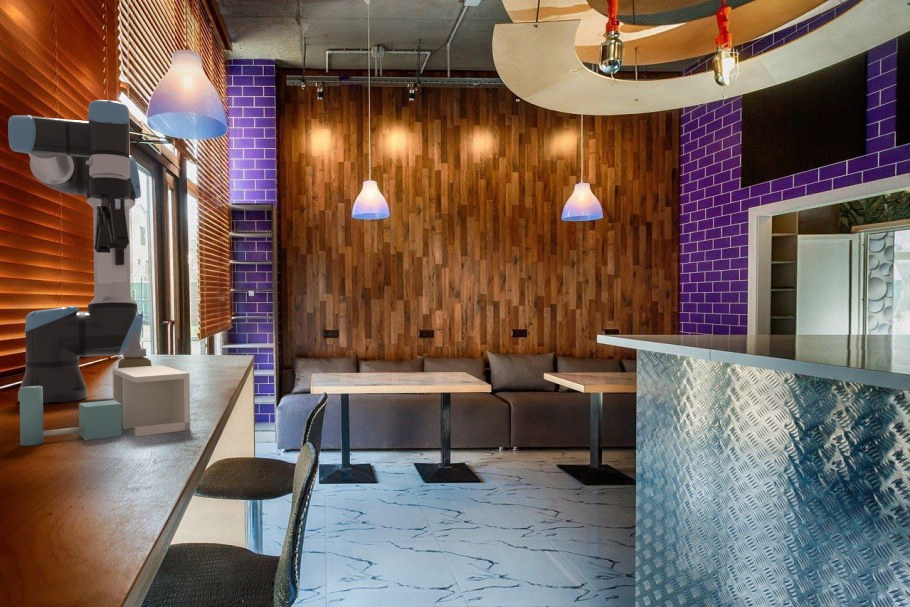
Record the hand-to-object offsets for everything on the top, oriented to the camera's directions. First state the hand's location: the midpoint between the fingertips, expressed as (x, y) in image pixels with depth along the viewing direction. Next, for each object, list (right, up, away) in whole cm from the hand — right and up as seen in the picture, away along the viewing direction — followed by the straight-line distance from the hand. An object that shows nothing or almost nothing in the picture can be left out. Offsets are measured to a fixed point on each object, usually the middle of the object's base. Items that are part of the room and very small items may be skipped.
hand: (111, 283), depth 142 cm
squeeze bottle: (0, -29, +10) cm, 31 cm away
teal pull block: (0, -29, -15) cm, 33 cm away
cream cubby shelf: (+9, -29, -3) cm, 30 cm away
